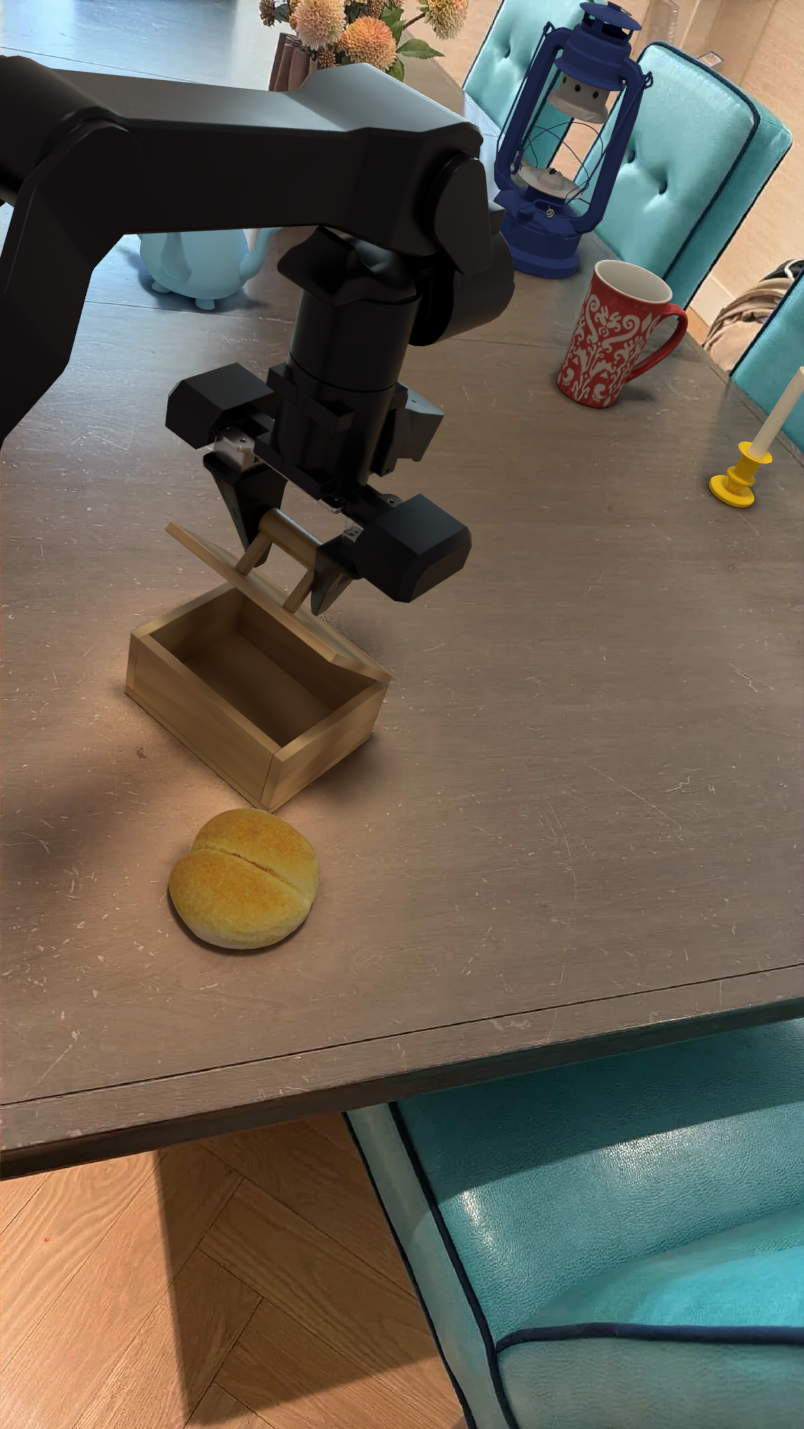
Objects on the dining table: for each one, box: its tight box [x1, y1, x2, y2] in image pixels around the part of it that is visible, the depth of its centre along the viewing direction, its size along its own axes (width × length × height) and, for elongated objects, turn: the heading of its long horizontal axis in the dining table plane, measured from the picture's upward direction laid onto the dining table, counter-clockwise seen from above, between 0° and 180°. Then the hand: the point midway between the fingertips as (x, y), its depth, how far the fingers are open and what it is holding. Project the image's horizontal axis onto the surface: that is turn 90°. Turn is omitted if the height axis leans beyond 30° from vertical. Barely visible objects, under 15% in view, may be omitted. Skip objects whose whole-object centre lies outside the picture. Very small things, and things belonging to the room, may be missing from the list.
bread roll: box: [168, 807, 320, 950], centre depth 59 cm, size 8×9×4 cm
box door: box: [164, 508, 395, 685], centre depth 63 cm, size 11×14×5 cm
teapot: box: [136, 227, 285, 311], centre depth 104 cm, size 13×13×10 cm
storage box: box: [124, 581, 390, 814], centre depth 67 cm, size 11×14×6 cm
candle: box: [708, 365, 804, 509], centre depth 104 cm, size 5×5×16 cm
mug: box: [556, 259, 689, 408], centre depth 112 cm, size 13×9×14 cm
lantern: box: [492, 0, 655, 280], centre depth 129 cm, size 17×15×30 cm
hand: (288, 588), depth 62 cm, fingers open, 5 cm apart
